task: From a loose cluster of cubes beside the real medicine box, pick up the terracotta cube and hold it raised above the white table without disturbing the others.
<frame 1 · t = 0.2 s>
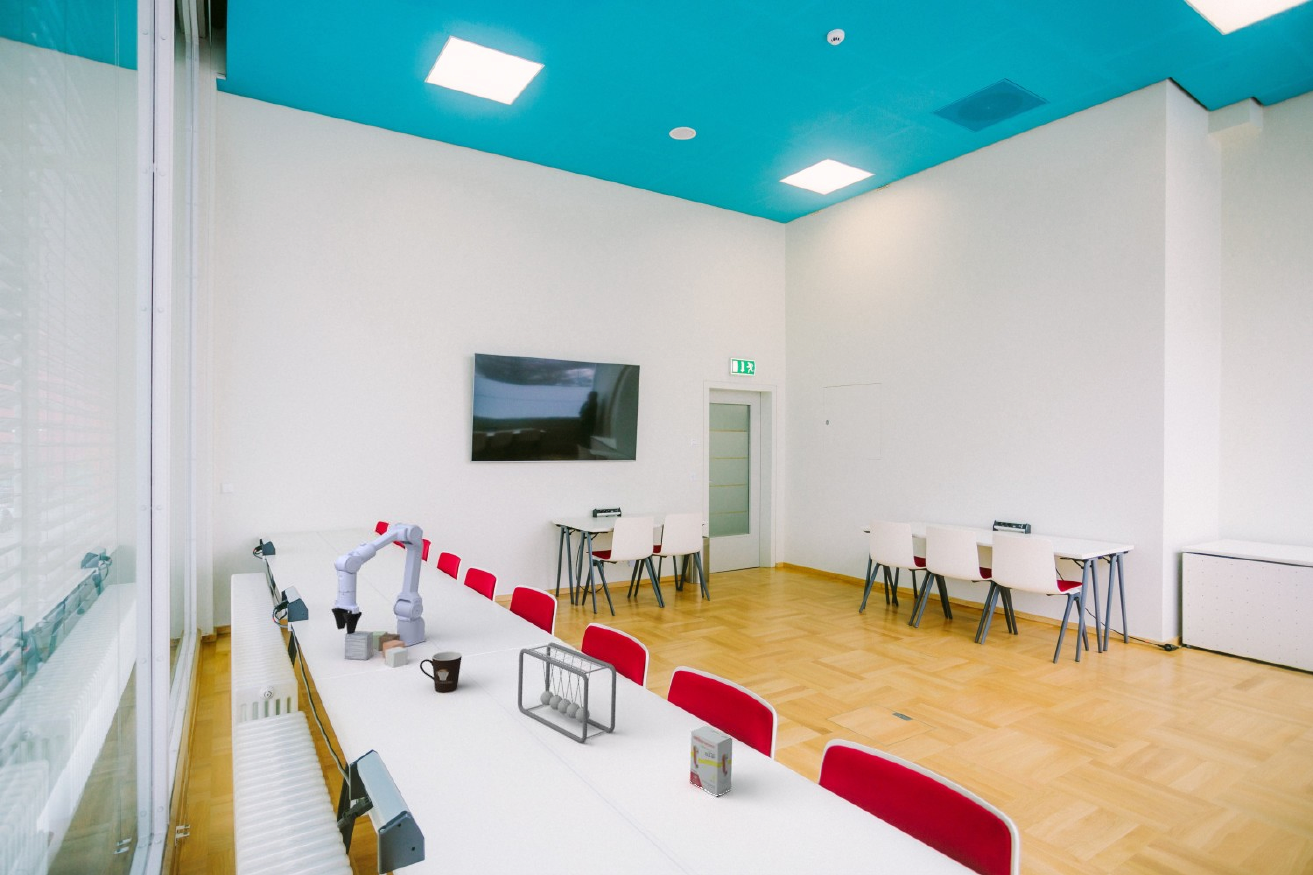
hand: (346, 631, 229), 10 cm above the table, fingers open, 7 cm apart
coffee mug: (442, 688, 206), on the table
terracotta block: (393, 657, 235), on the table
pale grey block: (396, 664, 227), on the table
ink box: (710, 787, 151), on the table
medicine box: (358, 658, 233), on the table
newton's cradle: (564, 722, 184), on the table
sage block: (377, 646, 246), on the table
walnut block: (389, 649, 243), on the table
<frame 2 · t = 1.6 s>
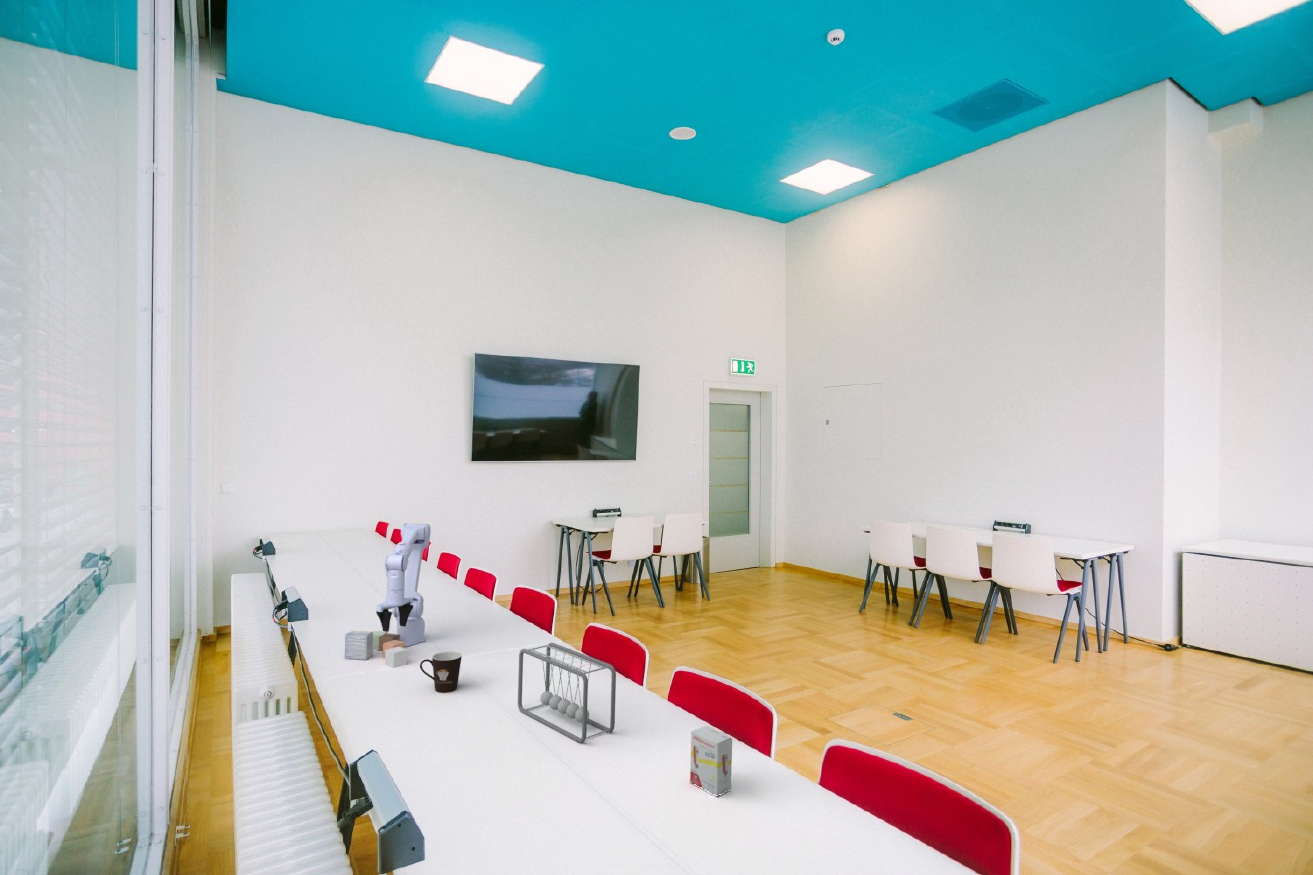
hand: (394, 628, 235), 10 cm above the table, fingers open, 7 cm apart
nothing on the table moved.
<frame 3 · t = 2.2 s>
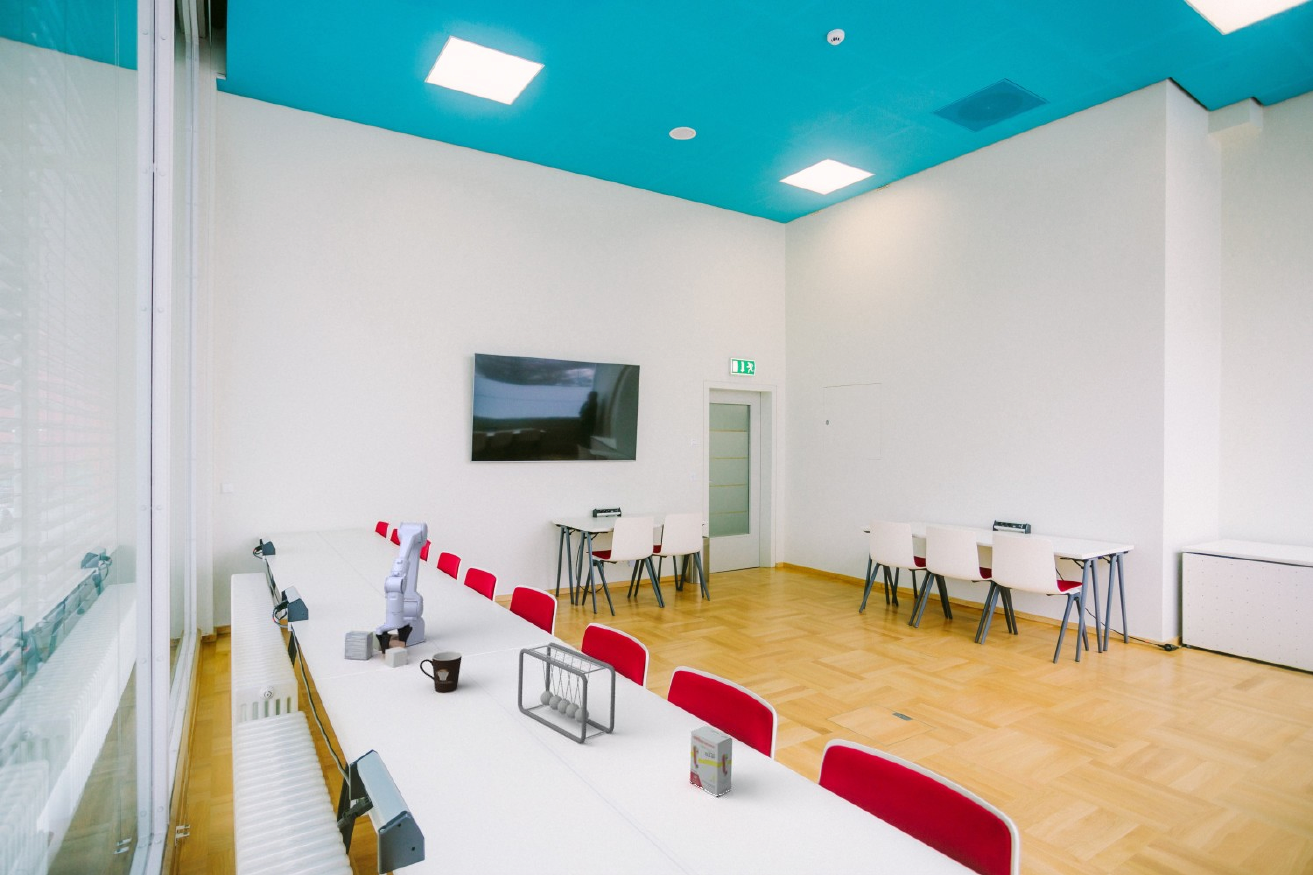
hand: (393, 650, 235), 2 cm above the table, fingers open, 7 cm apart
nothing on the table moved.
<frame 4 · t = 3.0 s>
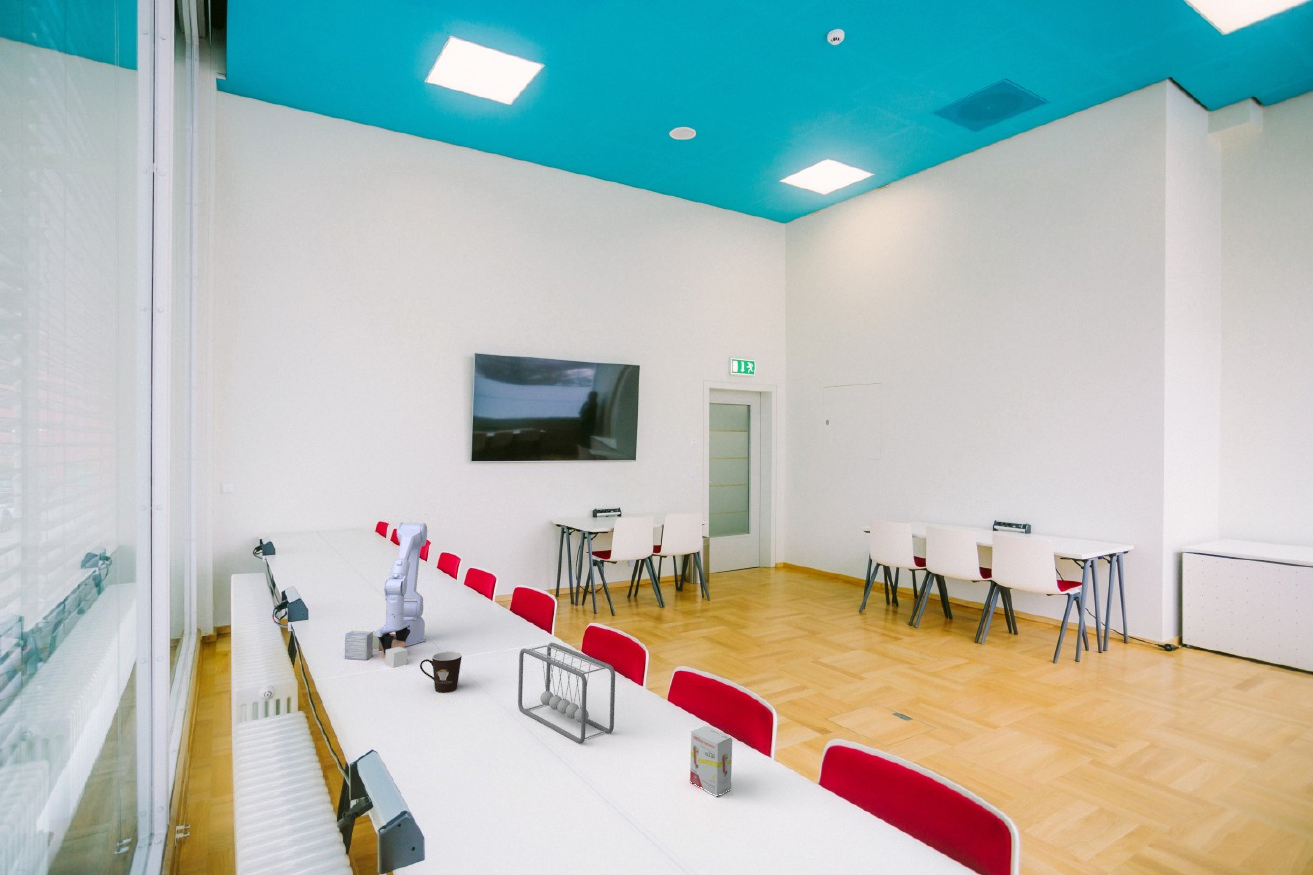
hand: (393, 652, 235), 1 cm above the table, fingers closed on terracotta block, 5 cm apart
terracotta block: (393, 656, 235), on the table, touching gripper
everything else where it was.
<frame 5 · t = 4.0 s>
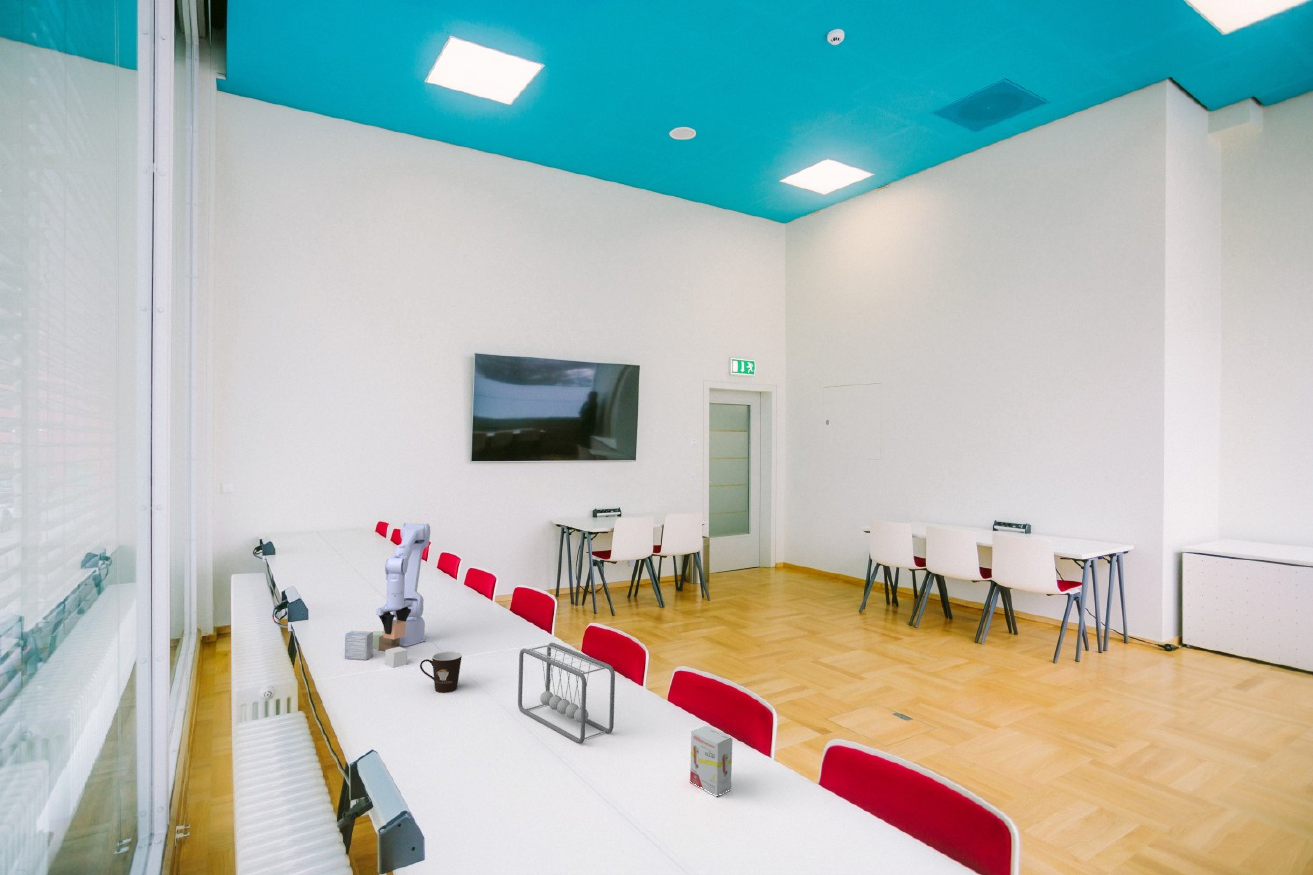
hand: (394, 631, 235), 9 cm above the table, fingers closed on terracotta block, 5 cm apart
terracotta block: (394, 636, 235), point 7 cm above the table, touching gripper
everything else where it was.
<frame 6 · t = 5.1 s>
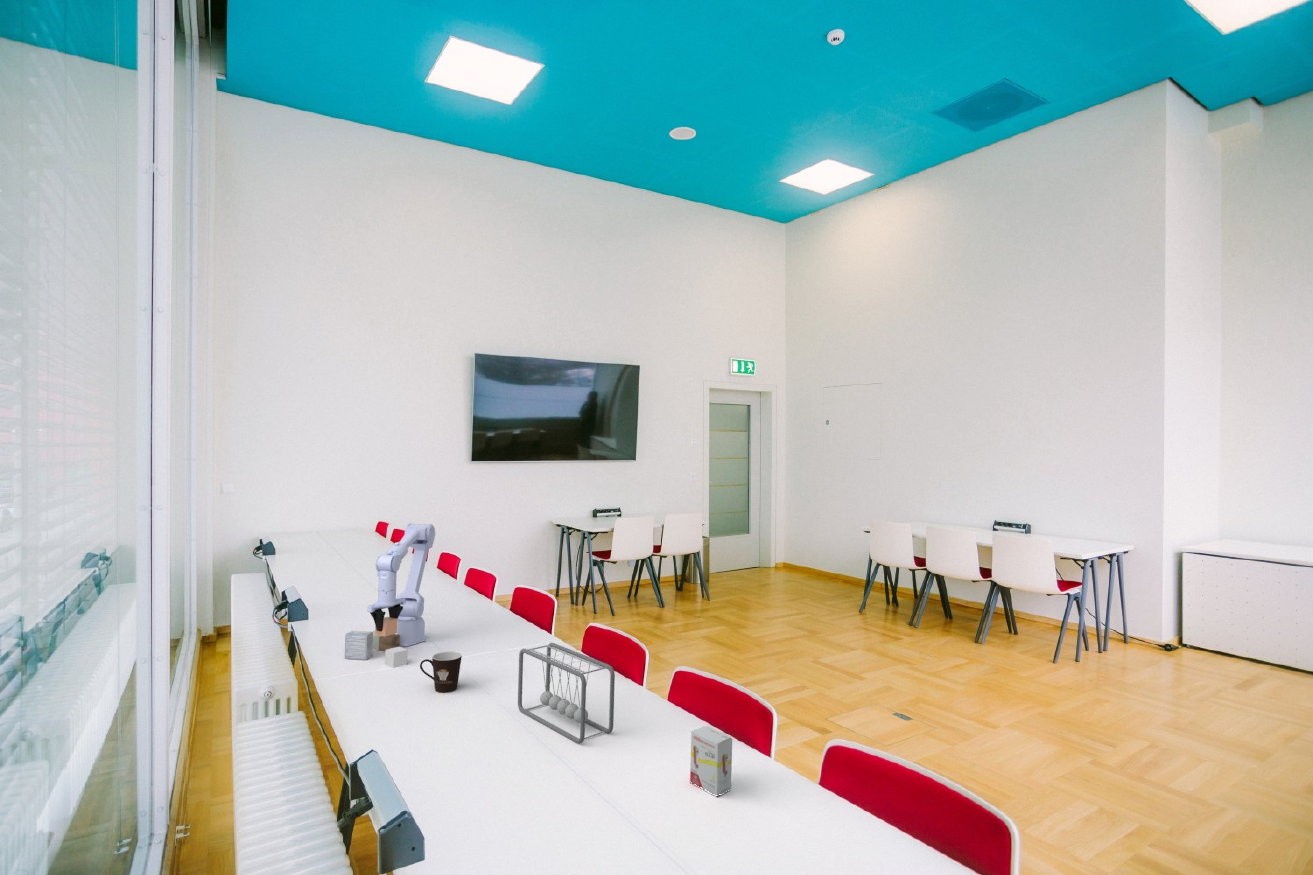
hand: (386, 628, 235), 9 cm above the table, fingers closed on terracotta block, 5 cm apart
terracotta block: (386, 633, 235), point 8 cm above the table, touching gripper
everything else where it was.
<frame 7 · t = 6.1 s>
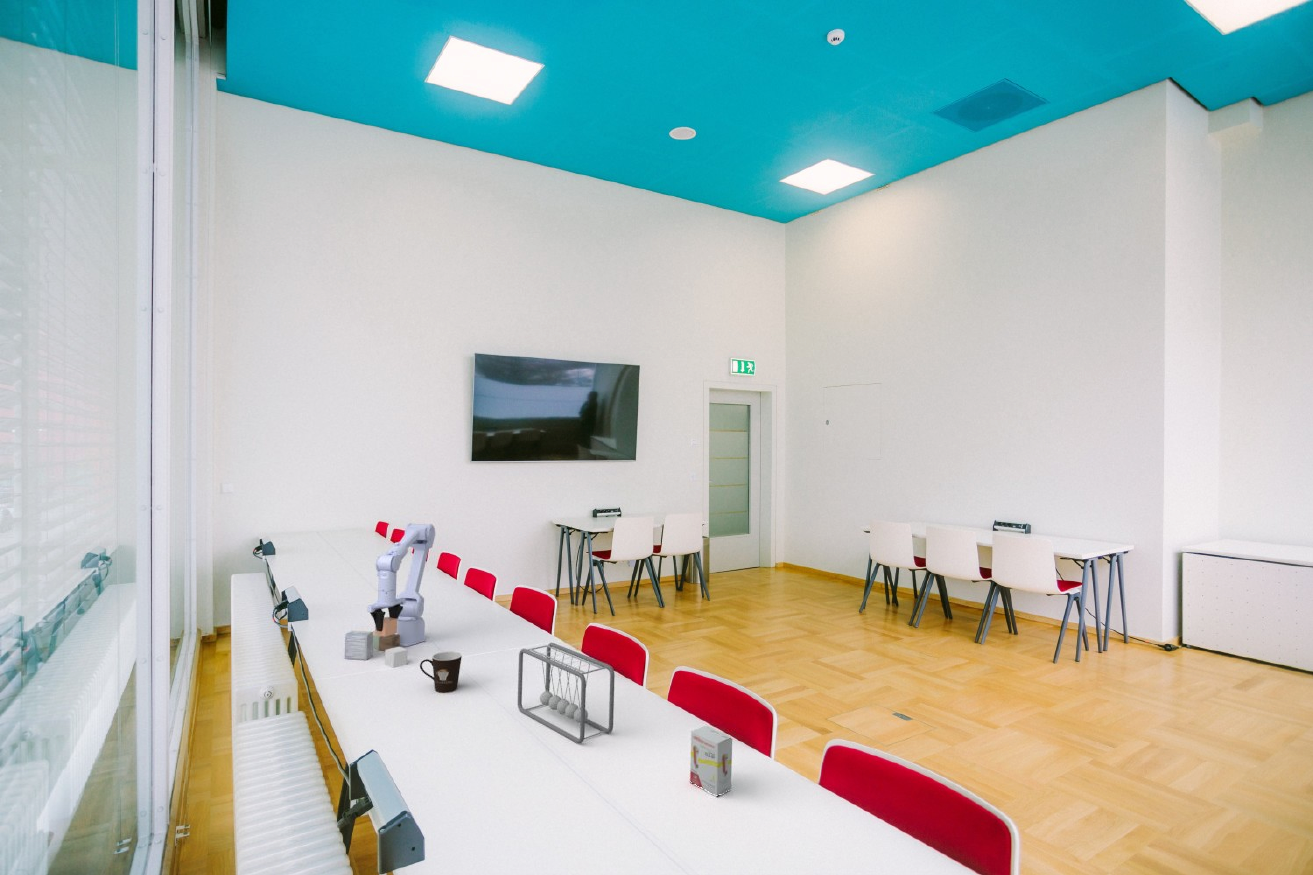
hand: (386, 628, 235), 9 cm above the table, fingers closed on terracotta block, 5 cm apart
terracotta block: (386, 633, 235), point 8 cm above the table, touching gripper
everything else where it was.
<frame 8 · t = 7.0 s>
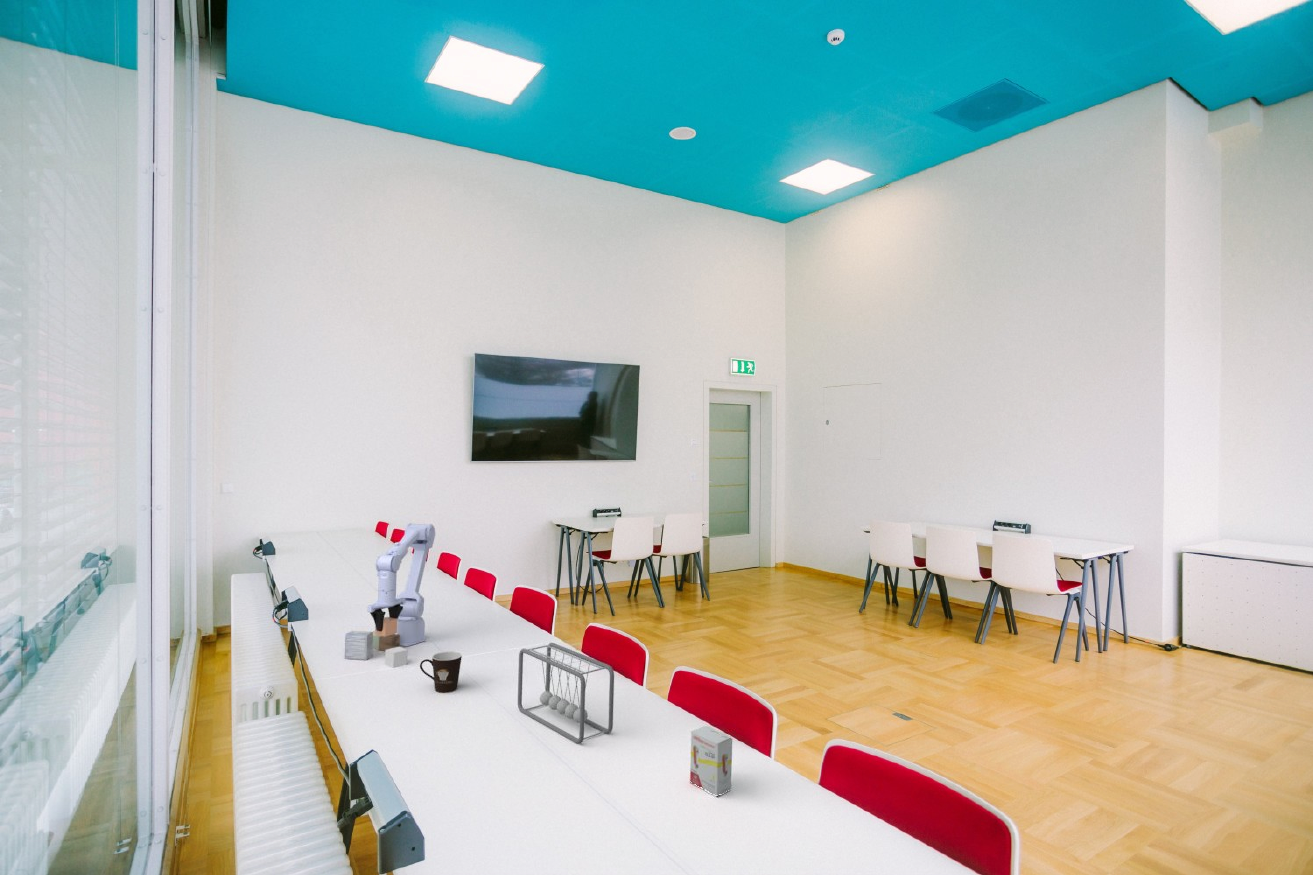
hand: (386, 628, 235), 9 cm above the table, fingers closed on terracotta block, 5 cm apart
terracotta block: (386, 633, 235), point 8 cm above the table, touching gripper
everything else where it was.
at the end: the gripper is holding terracotta block; terracotta block point 7.7 cm above the table; medicine box moved 0.3 cm from its start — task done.
